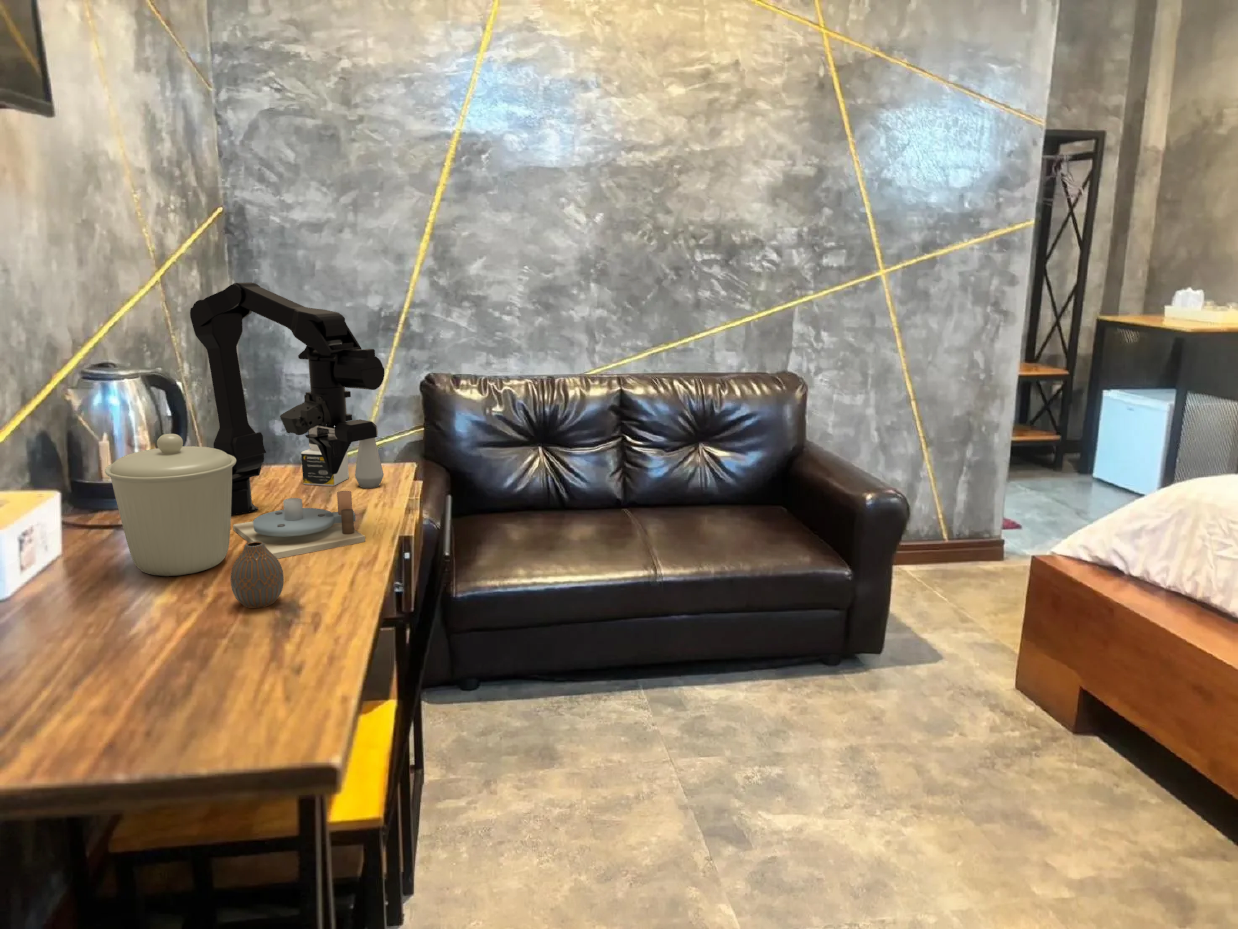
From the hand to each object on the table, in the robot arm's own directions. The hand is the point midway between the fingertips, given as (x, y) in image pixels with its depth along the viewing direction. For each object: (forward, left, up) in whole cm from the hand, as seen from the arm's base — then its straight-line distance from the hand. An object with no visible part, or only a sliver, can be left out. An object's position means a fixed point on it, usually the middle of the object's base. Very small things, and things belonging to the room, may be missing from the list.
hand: (333, 473), depth 160 cm
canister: (+5, -27, -10) cm, 29 cm away
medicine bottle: (-34, +11, -10) cm, 37 cm away
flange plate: (+2, -6, -7) cm, 10 cm away
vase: (+28, -22, -10) cm, 37 cm away
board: (0, -7, -10) cm, 12 cm away
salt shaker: (-25, +17, -10) cm, 32 cm away
